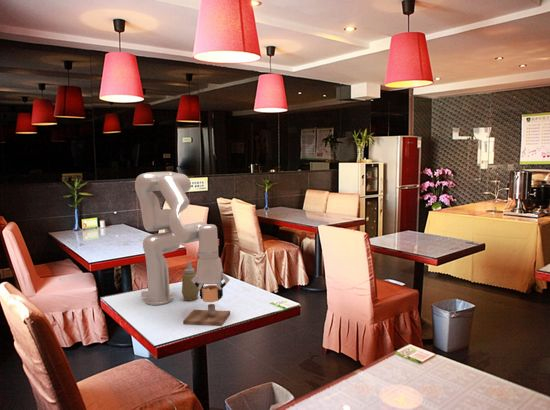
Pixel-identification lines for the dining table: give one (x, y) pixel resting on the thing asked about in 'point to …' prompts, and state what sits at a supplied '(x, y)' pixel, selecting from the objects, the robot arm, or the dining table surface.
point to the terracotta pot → (210, 293)
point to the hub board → (207, 317)
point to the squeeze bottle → (189, 284)
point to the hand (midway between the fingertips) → (211, 297)
